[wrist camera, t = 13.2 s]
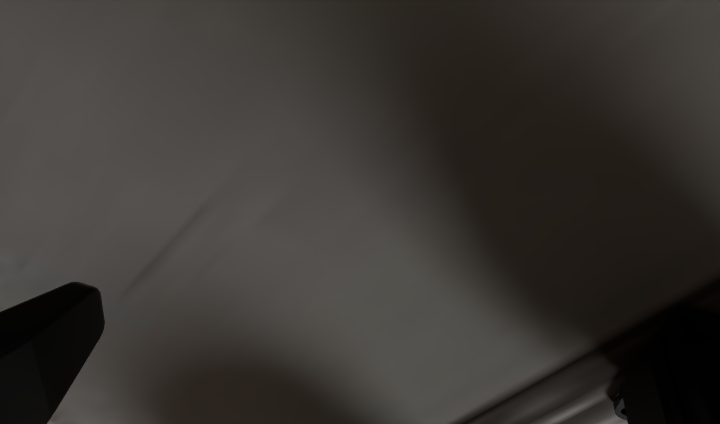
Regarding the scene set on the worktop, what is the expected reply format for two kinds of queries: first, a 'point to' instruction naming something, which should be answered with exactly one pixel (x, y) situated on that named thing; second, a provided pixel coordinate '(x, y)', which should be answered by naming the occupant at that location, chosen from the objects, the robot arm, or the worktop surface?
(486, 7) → the worktop surface
